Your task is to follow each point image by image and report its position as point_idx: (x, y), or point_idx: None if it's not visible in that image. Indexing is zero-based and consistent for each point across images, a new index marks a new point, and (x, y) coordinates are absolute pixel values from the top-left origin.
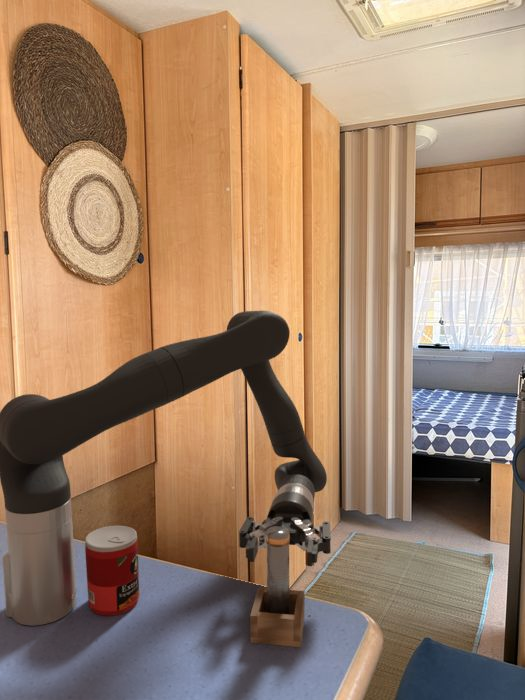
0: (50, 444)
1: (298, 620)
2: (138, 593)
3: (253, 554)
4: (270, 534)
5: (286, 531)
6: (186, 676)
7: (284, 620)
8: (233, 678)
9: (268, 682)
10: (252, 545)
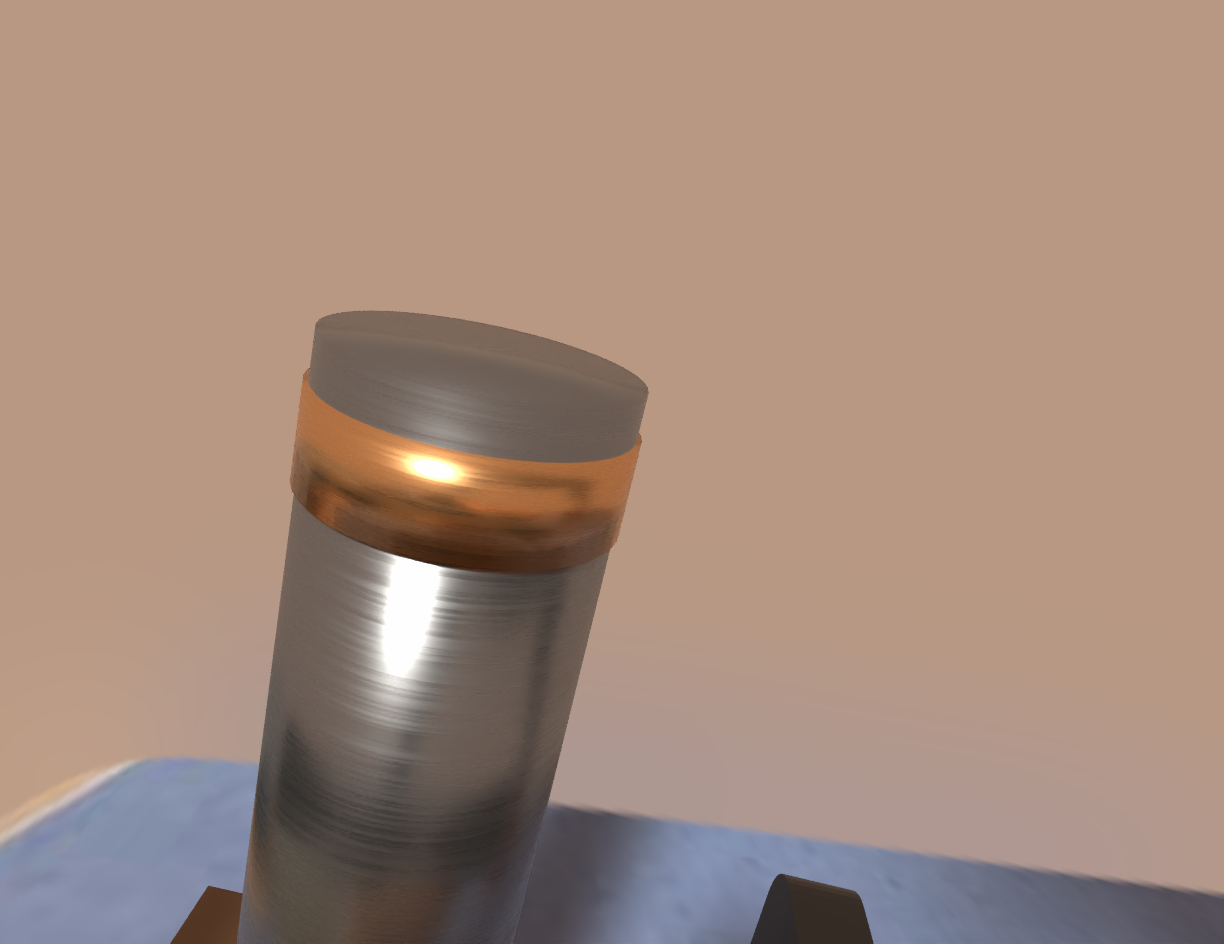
0: None
1: (225, 894)
2: None
3: (758, 925)
4: (588, 352)
5: (362, 325)
6: None
7: None
8: (628, 882)
9: None
10: (833, 941)
